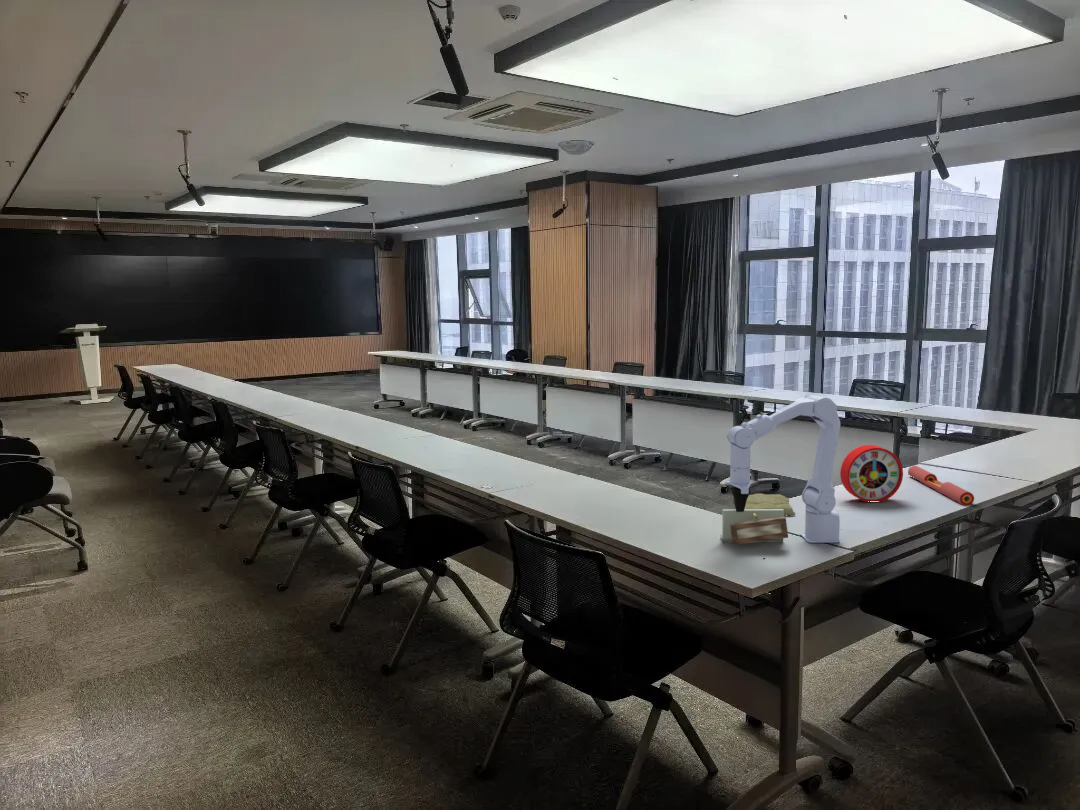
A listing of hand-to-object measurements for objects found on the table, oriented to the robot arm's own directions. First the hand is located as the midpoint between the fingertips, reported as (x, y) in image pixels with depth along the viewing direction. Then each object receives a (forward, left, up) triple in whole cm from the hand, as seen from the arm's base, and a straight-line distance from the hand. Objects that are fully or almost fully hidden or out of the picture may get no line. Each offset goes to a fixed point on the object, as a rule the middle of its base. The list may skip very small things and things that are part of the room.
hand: (739, 511), depth 220 cm
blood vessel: (-87, -63, -11) cm, 108 cm away
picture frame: (-5, +3, -8) cm, 10 cm away
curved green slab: (-4, -2, -10) cm, 11 cm away
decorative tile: (-16, -39, -11) cm, 44 cm away
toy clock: (-56, -48, -11) cm, 75 cm away
